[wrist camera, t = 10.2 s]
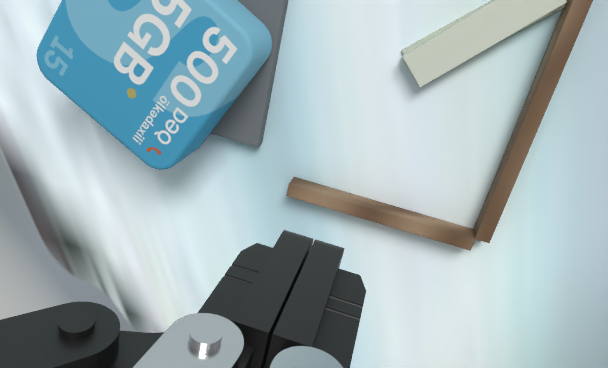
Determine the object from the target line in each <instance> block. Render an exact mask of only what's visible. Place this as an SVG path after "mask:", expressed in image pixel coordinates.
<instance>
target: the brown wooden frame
mask: <svg viewBox="0 0 608 368" xmlns="http://www.w3.org/2000/svg"><path fill="white" fill-rule="evenodd" d="M592 1H593V0H567V2H566V3H565V6H564V8H563V11H562V13H561V16H560V18H559V21H558V23H557V25H556V28H555V30H554V33H553V35H552V38H551V40H550V43H549V45H548V48H547V50H546V53H545V55H544V58H543V60H542V62H541V65H540V67H539V70H538V72H537V75H536V77H535V80H534V82H533V85H532V87H531V90H530V92H529V94H528V97H527V99H526V102H525V104H524V107H523V109H522V112H521V114H520V117H519V119H518V122H517V124H516V126H515V129H514V131H513V134H512V136H511V139H510V141H509V144H508V146H507V149H506V151H505V154H504V156H503V159H502V161H501V163H500V166H499V168H498V171H497V173H496V176H495V178H494V181H493V183H492V186H491V188H490V191H489V193H488V195H487V198H486V200H485V203H484V205H483V208H482V210H481V213H480V215H479V218H478V220H477V223H476V225H475V228H474V229H470V228H467V227H463V226H460V225H457V224H453V223H450V222H446V221H443V220H440V219H436V218H433V217H429V216H426V215H422V214H419V213H416V212H412V211H409V210H405V209H402V208H399V207H395V206H392V205H388V204H385V203H381V202H378V201H375V200H371V199H368V198H364V197H361V196H358V195H354V194H351V193H347V192H344V191H341V190H337V189H334V188H330V187H327V186H323V185H320V184H317V183H313V182H310V181H306V180H303V179H300V178H296V177H294V178H293V179H292V181H291V182H290V183H289V187H288V191H287V196H289V197H292V198H296V199H299V200H302V201H306V202H309V203H313V204H316V205H319V206H323V207H326V208H329V209H333V210H336V211H339V212H343V213H346V214H349V215H353V216H356V217H359V218H363V219H366V220H369V221H373V222H376V223H380V224H383V225H386V226H390V227H393V228H396V229H400V230H403V231H406V232H410V233H413V234H416V235H420V236H423V237H426V238H430V239H433V240H436V241H440V242H443V243H446V244H450V245H453V246H457V247H460V248H463V249H467V250H471V248H472V246H473V243H474V241H475V239H477V240H480V241H484V242H487V243H490V240H491V238H492V236H493V233H494V231H495V228H496V226H497V224H498V221H499V219H500V217H501V214H502V212H503V210H504V207H505V205H506V203H507V200H508V198H509V196H510V193H511V191H512V189H513V186H514V184H515V182H516V179H517V177H518V175H519V172H520V170H521V168H522V165H523V163H524V161H525V158H526V156H527V154H528V151H529V149H530V146H531V144H532V142H533V139H534V137H535V135H536V132H537V130H538V128H539V125H540V123H541V121H542V118H543V116H544V114H545V111H546V109H547V107H548V104H549V102H550V100H551V97H552V95H553V93H554V90H555V88H556V86H557V83H558V81H559V79H560V76H561V74H562V71H563V69H564V67H565V64H566V62H567V60H568V57H569V55H570V53H571V50H572V48H573V46H574V43H575V41H576V39H577V36H578V34H579V32H580V29H581V27H582V25H583V22H584V20H585V18H586V15H587V13H588V11H589V8H590V6H591V4H592Z"/></svg>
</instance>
